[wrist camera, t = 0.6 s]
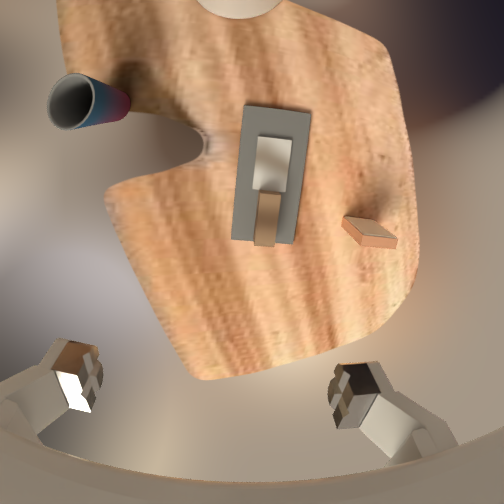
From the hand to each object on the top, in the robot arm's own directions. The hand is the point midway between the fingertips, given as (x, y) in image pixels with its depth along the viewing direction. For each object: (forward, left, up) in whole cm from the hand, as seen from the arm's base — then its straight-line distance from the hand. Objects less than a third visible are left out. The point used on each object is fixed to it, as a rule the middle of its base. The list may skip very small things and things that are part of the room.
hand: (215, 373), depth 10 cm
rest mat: (-1, +6, -40) cm, 40 cm away
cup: (-11, -19, -40) cm, 46 cm away
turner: (+1, +6, -39) cm, 40 cm away
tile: (+5, +22, -40) cm, 46 cm away
